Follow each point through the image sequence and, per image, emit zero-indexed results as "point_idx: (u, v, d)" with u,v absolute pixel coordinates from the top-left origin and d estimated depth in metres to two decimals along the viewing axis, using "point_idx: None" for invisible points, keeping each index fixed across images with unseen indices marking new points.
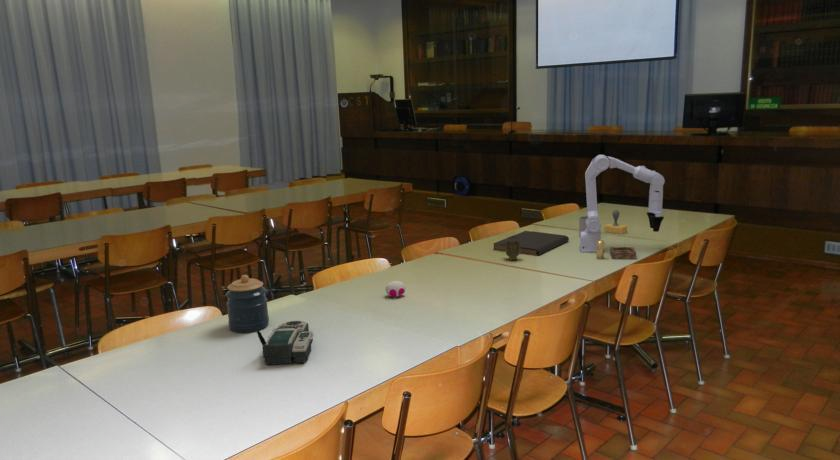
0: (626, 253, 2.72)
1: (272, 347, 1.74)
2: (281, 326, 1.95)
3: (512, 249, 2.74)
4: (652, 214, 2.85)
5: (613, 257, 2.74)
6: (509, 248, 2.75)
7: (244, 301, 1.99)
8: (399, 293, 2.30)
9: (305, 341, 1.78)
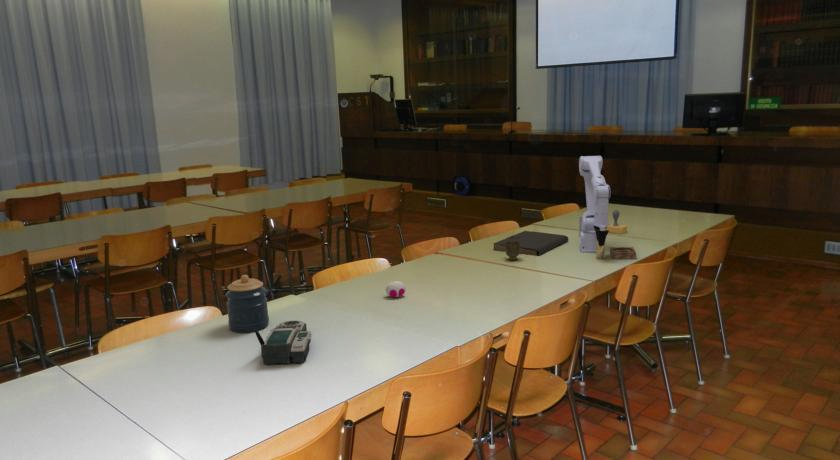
0: (626, 253, 2.72)
1: (270, 347, 1.74)
2: (279, 326, 1.95)
3: (512, 249, 2.74)
4: (599, 227, 2.77)
5: (613, 257, 2.74)
6: (509, 248, 2.75)
7: (244, 301, 1.99)
8: (399, 293, 2.30)
9: (303, 341, 1.78)
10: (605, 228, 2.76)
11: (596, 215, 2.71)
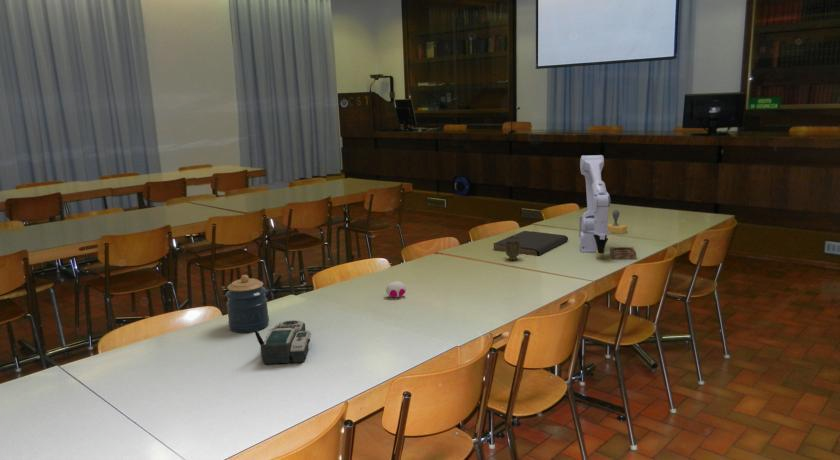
0: (626, 253, 2.72)
1: (270, 347, 1.74)
2: (278, 326, 1.95)
3: (512, 249, 2.74)
4: (599, 237, 2.76)
5: (613, 257, 2.74)
6: (509, 248, 2.75)
7: (244, 301, 1.99)
8: (400, 294, 2.29)
9: (303, 340, 1.79)
10: (605, 237, 2.75)
11: (596, 224, 2.71)
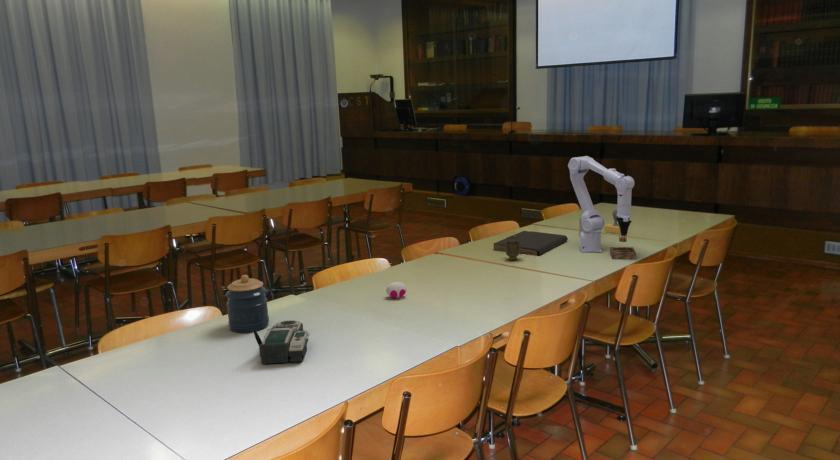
0: (626, 253, 2.72)
1: (269, 346, 1.74)
2: (276, 326, 1.95)
3: (512, 249, 2.74)
4: (622, 219, 2.76)
5: (613, 257, 2.74)
6: (509, 248, 2.75)
7: (244, 301, 1.99)
8: (400, 294, 2.29)
9: (301, 340, 1.79)
10: (628, 220, 2.76)
11: (619, 206, 2.72)
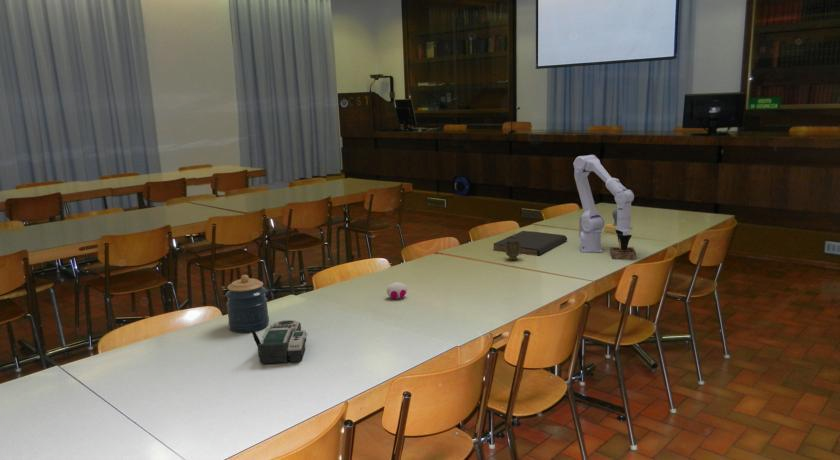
0: (626, 253, 2.72)
1: (267, 346, 1.74)
2: (274, 326, 1.95)
3: (512, 249, 2.74)
4: (621, 232, 2.79)
5: (613, 257, 2.74)
6: (509, 248, 2.75)
7: (244, 301, 1.99)
8: (400, 295, 2.28)
9: (300, 340, 1.79)
10: (627, 232, 2.79)
11: (619, 220, 2.73)
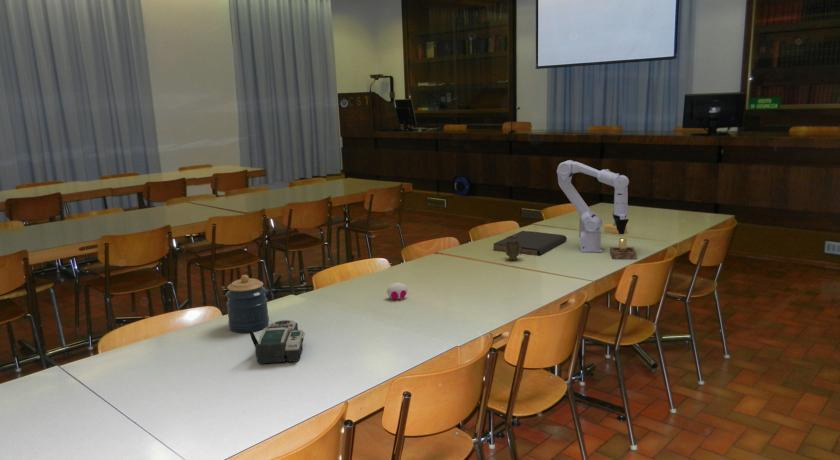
0: (626, 253, 2.72)
1: (265, 346, 1.74)
2: (270, 326, 1.95)
3: (512, 249, 2.74)
4: (618, 217, 2.85)
5: (613, 257, 2.74)
6: (509, 248, 2.75)
7: (244, 301, 1.99)
8: (401, 295, 2.28)
9: (297, 340, 1.79)
10: (625, 217, 2.85)
11: (616, 204, 2.79)
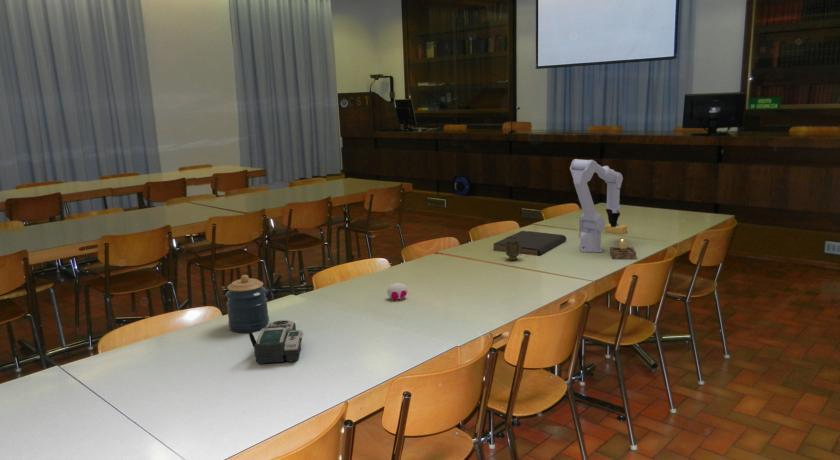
0: (626, 253, 2.72)
1: (264, 346, 1.74)
2: (268, 326, 1.95)
3: (512, 249, 2.74)
4: (610, 210, 3.01)
5: (613, 257, 2.74)
6: (509, 248, 2.75)
7: (244, 301, 1.99)
8: (401, 295, 2.27)
9: (296, 339, 1.80)
10: (616, 211, 3.00)
11: (608, 199, 2.94)
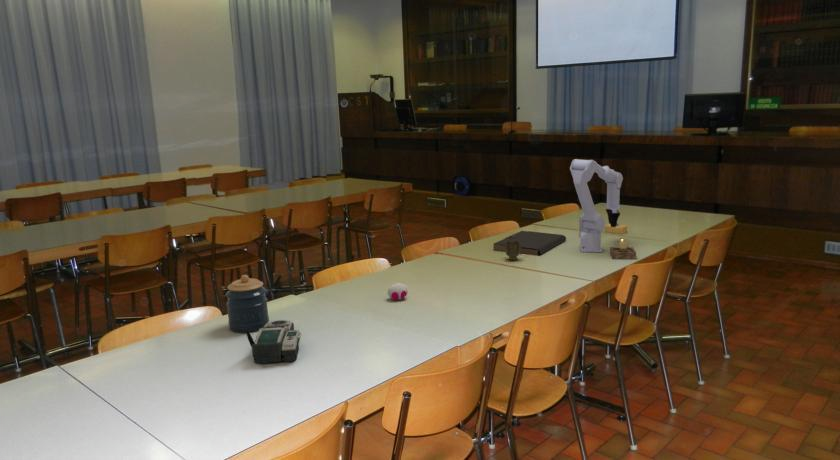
0: (626, 253, 2.72)
1: (261, 346, 1.74)
2: (267, 326, 1.95)
3: (512, 249, 2.74)
4: (610, 210, 3.01)
5: (613, 257, 2.74)
6: (509, 248, 2.75)
7: (244, 301, 1.99)
8: (401, 296, 2.27)
9: (294, 339, 1.80)
10: (616, 211, 3.00)
11: (608, 199, 2.94)
